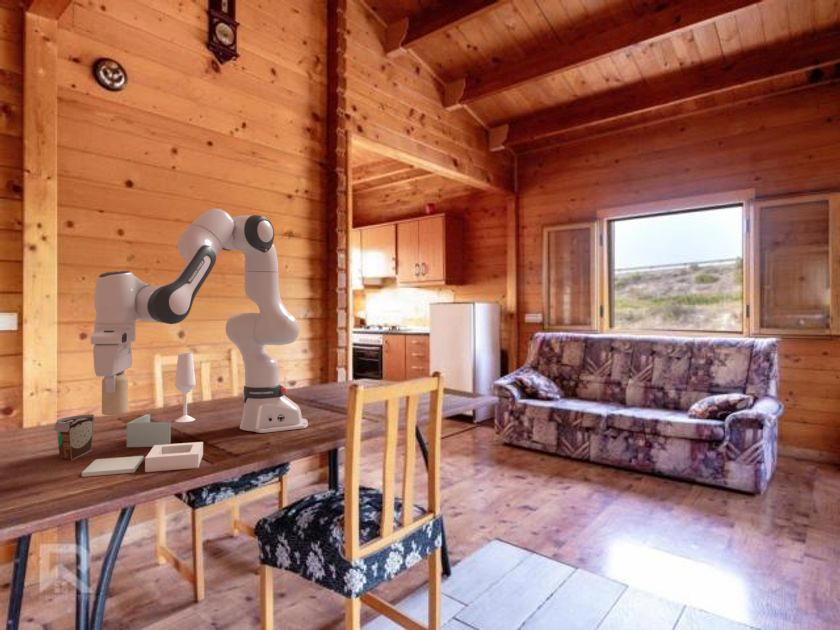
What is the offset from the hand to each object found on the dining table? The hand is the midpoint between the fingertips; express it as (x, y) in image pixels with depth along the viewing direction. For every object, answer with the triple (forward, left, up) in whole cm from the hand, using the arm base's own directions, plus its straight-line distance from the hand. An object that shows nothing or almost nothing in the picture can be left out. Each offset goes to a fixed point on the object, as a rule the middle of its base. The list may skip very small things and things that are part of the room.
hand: (114, 390), depth 124 cm
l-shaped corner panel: (-6, -25, -20) cm, 32 cm away
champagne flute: (-10, -53, -20) cm, 57 cm away
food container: (+14, -15, -20) cm, 29 cm away
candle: (0, 0, -6) cm, 6 cm away
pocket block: (-14, 0, -20) cm, 24 cm away
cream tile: (0, 0, -20) cm, 20 cm away
